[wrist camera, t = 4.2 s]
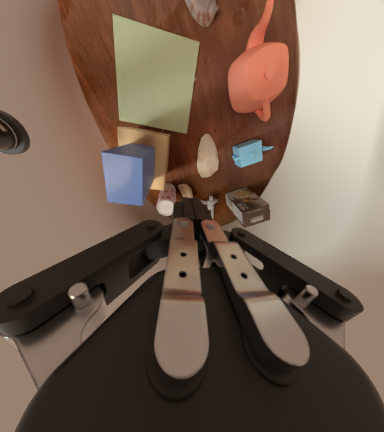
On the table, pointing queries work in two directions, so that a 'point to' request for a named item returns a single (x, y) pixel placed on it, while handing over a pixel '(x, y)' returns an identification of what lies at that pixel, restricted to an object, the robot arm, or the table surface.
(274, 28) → the table surface
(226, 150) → the table surface
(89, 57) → the table surface
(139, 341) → the robot arm
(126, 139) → the stand
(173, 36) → the mat
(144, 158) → the toy block
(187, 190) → the cream cup
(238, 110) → the teapot
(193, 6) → the seashell
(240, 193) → the coffee box
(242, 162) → the teapot
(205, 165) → the stone
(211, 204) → the soldier figurine
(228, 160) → the table surface
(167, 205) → the beverage can
